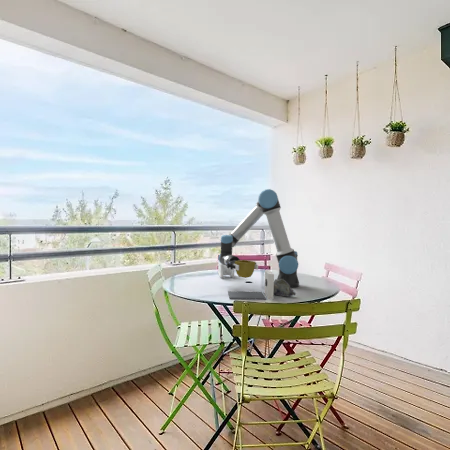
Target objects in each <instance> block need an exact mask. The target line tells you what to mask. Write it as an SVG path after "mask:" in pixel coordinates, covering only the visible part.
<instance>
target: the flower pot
mask: <svg viewBox="0 0 450 450" xmlns="http://www.w3.org/2000/svg"><path fill="white" fill-rule="evenodd" d="M255 263H256V261H255V260H246V259H242V260H241V259H240V260H239V261H235V264H236V265H239V270H235V273H236V274H237V276H238V278H239V277H240V278H246V279H247V278H251V277H252V275H253V273H254V271H255V269H254V268H255Z"/></svg>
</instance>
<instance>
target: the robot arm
mask: <svg viewBox="0 0 450 450" xmlns="http://www.w3.org/2000/svg"><path fill="white" fill-rule="evenodd" d="M281 208H282V207H281V203H280V201H279V197H278V194H277V193H276V191H275V190H273V189H271V188H268V189H264V190H262V191H261V192H260V193H259V195H258V200H257V202H256V203H255V206H254V207H253V208H252V209H251V211H250V212H249V213H248V214H247V215H246V216H245V217H244V218H243V219H242V220H241V221H240V223H239V224H238V225H237V226H236V227H235V228H234V230H232V231H231V233H230V234H222V235H221V237H220V254H218V258H217V259H218V260H217V261H219V262H220V263H221V264H223V265H226V266H227V268H229V267H230V268H231V269H234V271H236V270H239V265H236V264H235V261H239V260H241V259H240V258H239V257H238V256H237V255H233V248H234V247H235V246H236V245H237V243H238V242H239V241H240V240H241V239H242V238H243V237H244V236H245V235H246V234H247V233H248V232H249V230H250V229H252V227H253V226H254V225H256V223H257V222H258V221H259V220H260V219H261V217H262V216H264V215H265V216H266V219H267V222H268V225H269V228H270V233H271V234H272V235H271V236H272V239H273V243H274V245H275V249H276V251H277V252H276V254H275V257H276V260H277V263H278V276H277V277H276V279H277V280H279V279H283V280H285V281H286V282H287V283H288V284H289V286H290V288H298V287H300V282H299V277H298V269H299V261H298V252H297V251H296V250H294V248H292V247H291V243H290V241H289V238H288V234H287V232H286V231H287V230H286V228H285V226H284V222H283V219H282V215H281V212H280V210H281ZM254 270H259V264H258V263H257V262H255V268H254ZM297 286H298V287H297Z"/></svg>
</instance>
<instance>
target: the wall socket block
mask: <svg viewBox="0 0 450 450" xmlns="http://www.w3.org/2000/svg"><path fill="white" fill-rule="evenodd" d="M274 281H275V274H274V272H273V271H271V270H269V269H267V270H266V269H265V270H264V293H263V294H264V296H265V298H266V299H267V300H274V294H273V293H274Z"/></svg>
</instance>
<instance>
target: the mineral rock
mask: <svg viewBox="0 0 450 450" xmlns="http://www.w3.org/2000/svg"><path fill="white" fill-rule="evenodd" d="M296 295H297V293H296V292H295V291H294V289H293V288H292V287H290V286H289V284H288V283H287V282H286V281H285V280H283V279H279V280H277V278H276V279H275V278H274V293H273V296H282V297H291V296H296Z"/></svg>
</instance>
